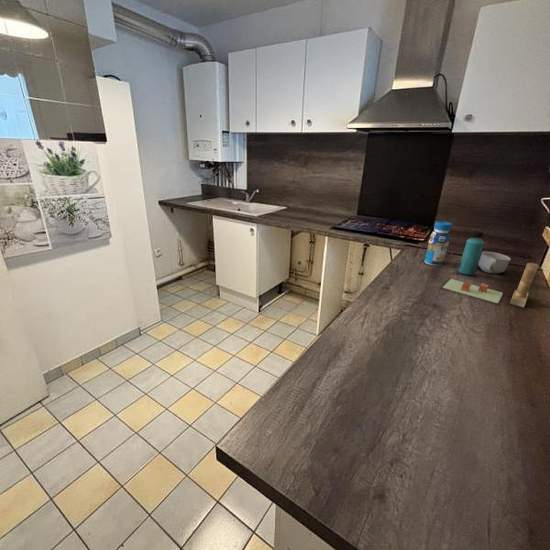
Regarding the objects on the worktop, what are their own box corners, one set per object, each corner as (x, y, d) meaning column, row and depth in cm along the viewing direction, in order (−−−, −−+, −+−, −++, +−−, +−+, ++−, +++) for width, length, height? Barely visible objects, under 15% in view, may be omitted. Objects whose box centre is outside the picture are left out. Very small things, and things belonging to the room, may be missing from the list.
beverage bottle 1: (426, 259, 147) (436, 220, 139) (444, 263, 142) (455, 222, 134) (421, 263, 141) (431, 222, 133) (440, 267, 136) (451, 225, 128)
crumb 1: (469, 289, 112) (471, 284, 111) (468, 291, 110) (470, 285, 109) (462, 287, 113) (464, 282, 112) (460, 289, 112) (462, 283, 111)
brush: (525, 300, 107) (541, 262, 101) (523, 309, 100) (539, 269, 94) (512, 296, 110) (526, 259, 104) (508, 305, 103) (523, 266, 97)
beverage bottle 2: (476, 279, 125) (491, 233, 117) (460, 277, 126) (473, 232, 118) (470, 273, 131) (483, 229, 123) (454, 272, 132) (466, 228, 124)
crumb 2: (487, 290, 111) (489, 285, 110) (485, 292, 110) (487, 286, 109) (479, 288, 113) (481, 283, 112) (478, 290, 111) (480, 284, 110)
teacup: (481, 265, 141) (486, 249, 137) (508, 272, 133) (514, 255, 130) (470, 272, 132) (475, 255, 129) (498, 279, 125) (504, 262, 122)
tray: (502, 295, 111) (503, 292, 110) (497, 305, 103) (498, 303, 102) (450, 281, 122) (450, 278, 122) (441, 289, 114) (442, 287, 113)
